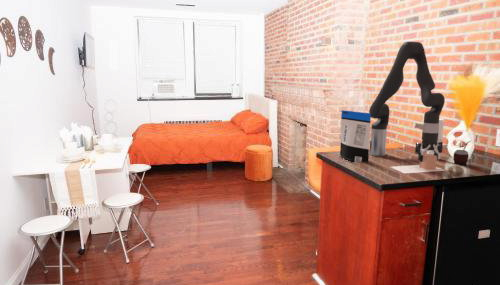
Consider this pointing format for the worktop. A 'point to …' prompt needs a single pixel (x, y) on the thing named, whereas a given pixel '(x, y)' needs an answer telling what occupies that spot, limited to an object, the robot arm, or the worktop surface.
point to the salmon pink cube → (428, 161)
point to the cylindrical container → (441, 124)
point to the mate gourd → (461, 156)
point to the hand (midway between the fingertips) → (427, 161)
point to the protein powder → (355, 136)
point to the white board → (414, 169)
